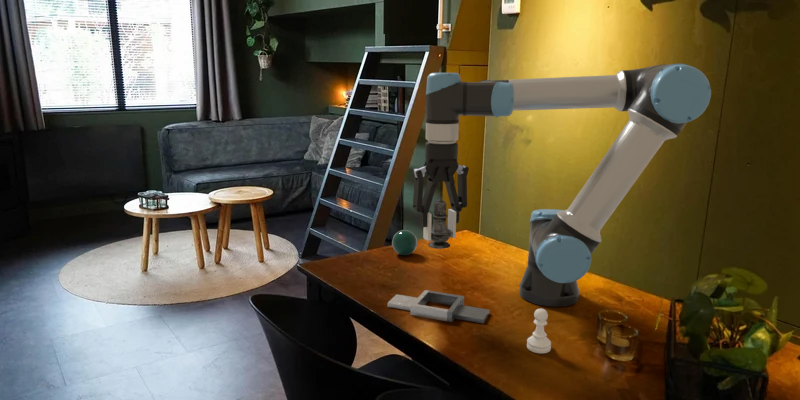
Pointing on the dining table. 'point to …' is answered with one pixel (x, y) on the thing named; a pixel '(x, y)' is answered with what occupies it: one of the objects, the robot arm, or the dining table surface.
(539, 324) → the chess pawn
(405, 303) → the flanged square frame
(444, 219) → the grey chess piece
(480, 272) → the dining table surface
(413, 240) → the sphere
